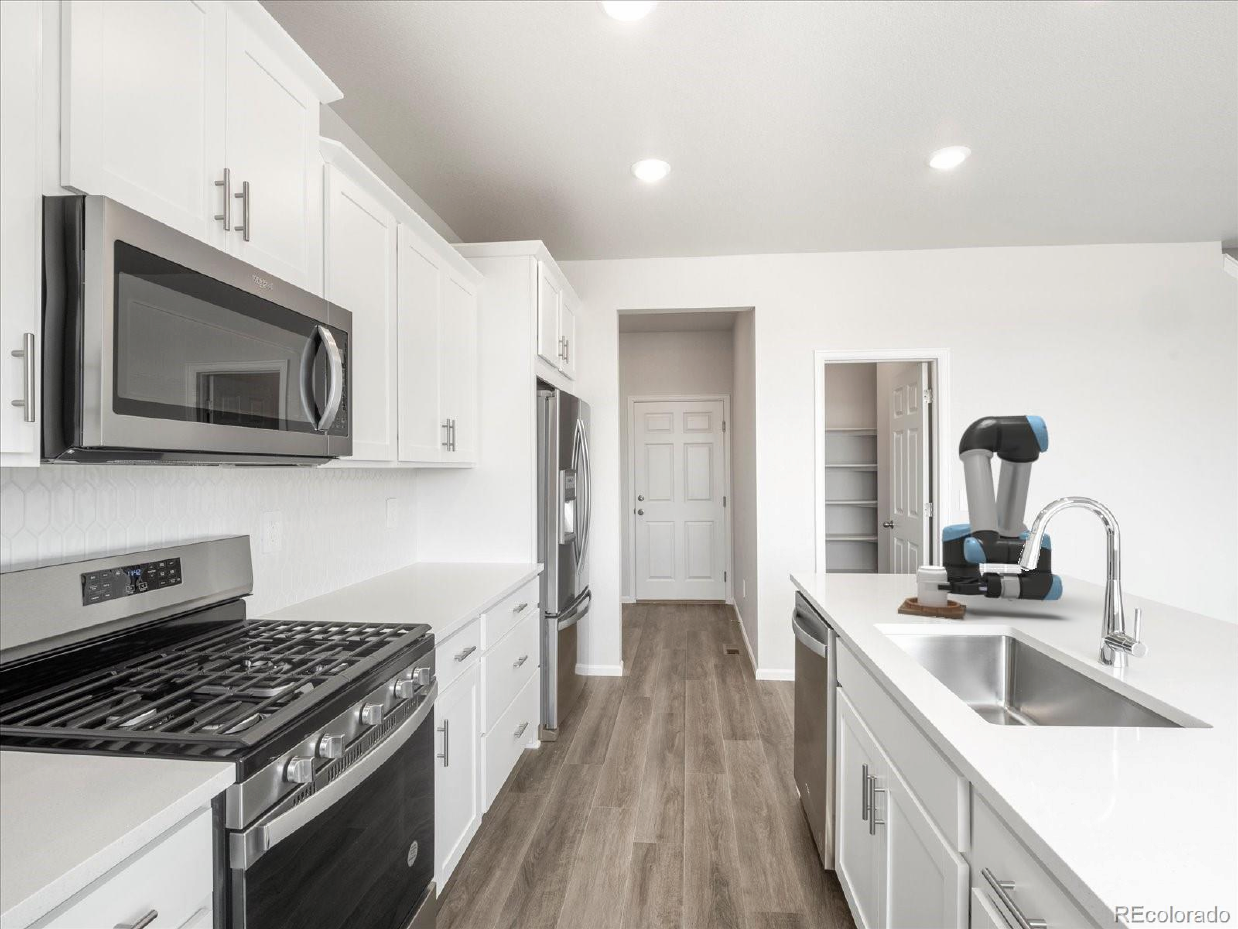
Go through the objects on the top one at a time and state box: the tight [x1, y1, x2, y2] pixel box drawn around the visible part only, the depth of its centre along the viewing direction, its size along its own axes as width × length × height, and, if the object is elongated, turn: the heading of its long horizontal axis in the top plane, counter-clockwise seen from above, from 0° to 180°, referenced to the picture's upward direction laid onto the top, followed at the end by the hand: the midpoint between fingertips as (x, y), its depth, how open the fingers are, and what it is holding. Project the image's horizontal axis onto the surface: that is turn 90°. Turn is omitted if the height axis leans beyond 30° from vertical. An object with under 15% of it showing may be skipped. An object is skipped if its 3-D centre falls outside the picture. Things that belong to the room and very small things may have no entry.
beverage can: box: [916, 565, 948, 607], centre depth 194 cm, size 8×8×12 cm
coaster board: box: [897, 596, 967, 620], centre depth 194 cm, size 17×17×3 cm
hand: (920, 582), depth 194 cm, fingers open, 13 cm apart
